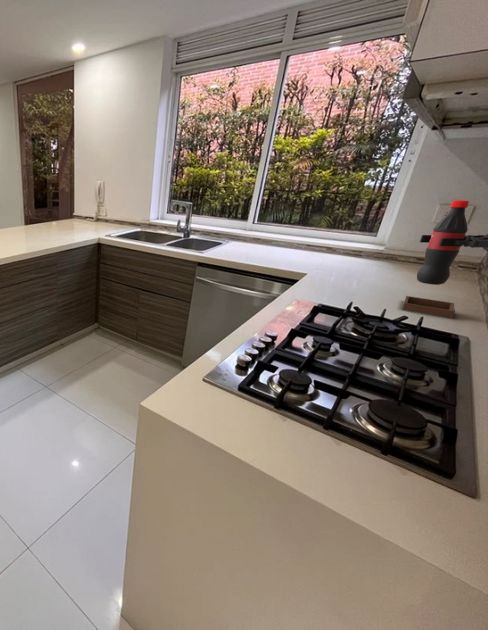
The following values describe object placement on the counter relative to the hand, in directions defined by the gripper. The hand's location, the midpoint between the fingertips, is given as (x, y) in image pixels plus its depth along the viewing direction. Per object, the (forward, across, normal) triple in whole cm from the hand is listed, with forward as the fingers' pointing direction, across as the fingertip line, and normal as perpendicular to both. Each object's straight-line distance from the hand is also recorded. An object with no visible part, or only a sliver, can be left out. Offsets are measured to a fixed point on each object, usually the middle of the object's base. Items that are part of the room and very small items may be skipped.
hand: (431, 240), depth 124 cm
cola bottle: (-5, 0, -16) cm, 17 cm away
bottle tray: (+1, -10, -25) cm, 27 cm away
